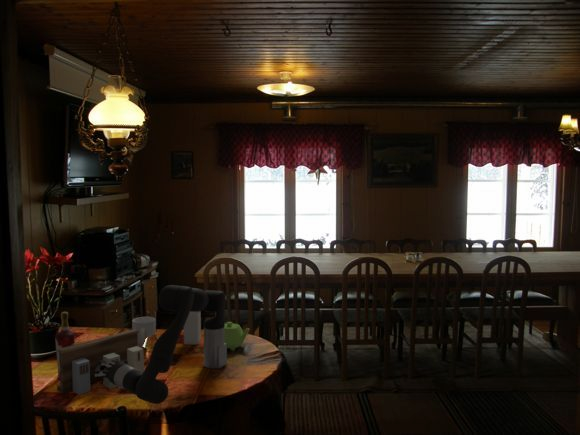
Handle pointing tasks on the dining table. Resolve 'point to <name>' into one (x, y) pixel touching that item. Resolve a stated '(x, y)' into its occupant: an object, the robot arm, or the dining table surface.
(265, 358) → the dining table surface
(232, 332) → the teapot
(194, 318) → the milk carton
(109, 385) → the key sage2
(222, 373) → the dining table surface
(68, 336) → the liquor
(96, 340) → the backboard
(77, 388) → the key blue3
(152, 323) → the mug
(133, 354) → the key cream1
